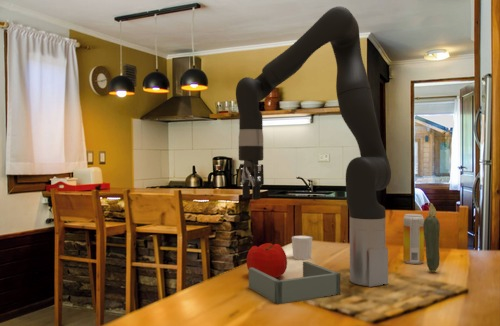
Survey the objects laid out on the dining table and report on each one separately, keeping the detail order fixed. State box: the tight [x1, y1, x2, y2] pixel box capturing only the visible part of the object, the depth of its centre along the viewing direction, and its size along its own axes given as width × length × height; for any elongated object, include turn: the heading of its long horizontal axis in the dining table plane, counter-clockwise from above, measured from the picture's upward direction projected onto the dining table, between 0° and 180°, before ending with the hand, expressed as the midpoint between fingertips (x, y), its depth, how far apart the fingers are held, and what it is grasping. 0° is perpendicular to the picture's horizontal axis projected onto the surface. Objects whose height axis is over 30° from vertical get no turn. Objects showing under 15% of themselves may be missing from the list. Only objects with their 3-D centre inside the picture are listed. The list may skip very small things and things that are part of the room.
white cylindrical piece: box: [291, 234, 313, 261], centre depth 156 cm, size 7×7×7 cm
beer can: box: [402, 213, 425, 265], centre depth 149 cm, size 6×6×15 cm
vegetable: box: [423, 202, 441, 273], centre depth 136 cm, size 4×4×20 cm
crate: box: [248, 260, 341, 305], centre depth 118 cm, size 15×17×5 cm
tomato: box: [246, 242, 288, 279], centre depth 131 cm, size 11×12×9 cm
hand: (251, 198), depth 143 cm, fingers open, 8 cm apart
